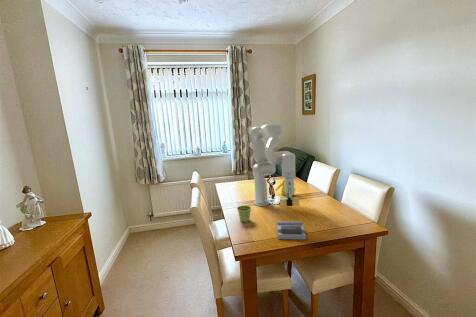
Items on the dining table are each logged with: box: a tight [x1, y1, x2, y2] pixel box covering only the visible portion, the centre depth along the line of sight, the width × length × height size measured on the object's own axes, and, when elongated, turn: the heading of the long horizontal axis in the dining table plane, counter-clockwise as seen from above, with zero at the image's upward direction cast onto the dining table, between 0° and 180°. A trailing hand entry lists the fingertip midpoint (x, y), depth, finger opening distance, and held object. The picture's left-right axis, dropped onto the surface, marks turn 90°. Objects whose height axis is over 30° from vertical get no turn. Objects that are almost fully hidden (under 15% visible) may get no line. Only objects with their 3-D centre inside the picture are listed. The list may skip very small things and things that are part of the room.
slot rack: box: [276, 221, 307, 240], centre depth 134 cm, size 16×15×2 cm
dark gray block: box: [281, 226, 302, 234], centre depth 130 cm, size 11×4×4 cm, turn 83°
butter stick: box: [279, 196, 300, 207], centre depth 136 cm, size 11×4×4 cm, turn 82°
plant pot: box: [236, 204, 252, 223], centre depth 152 cm, size 9×9×9 cm
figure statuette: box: [274, 177, 297, 196], centre depth 195 cm, size 18×8×22 cm, turn 86°
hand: (289, 204), depth 136 cm, fingers closed on butter stick, 3 cm apart
